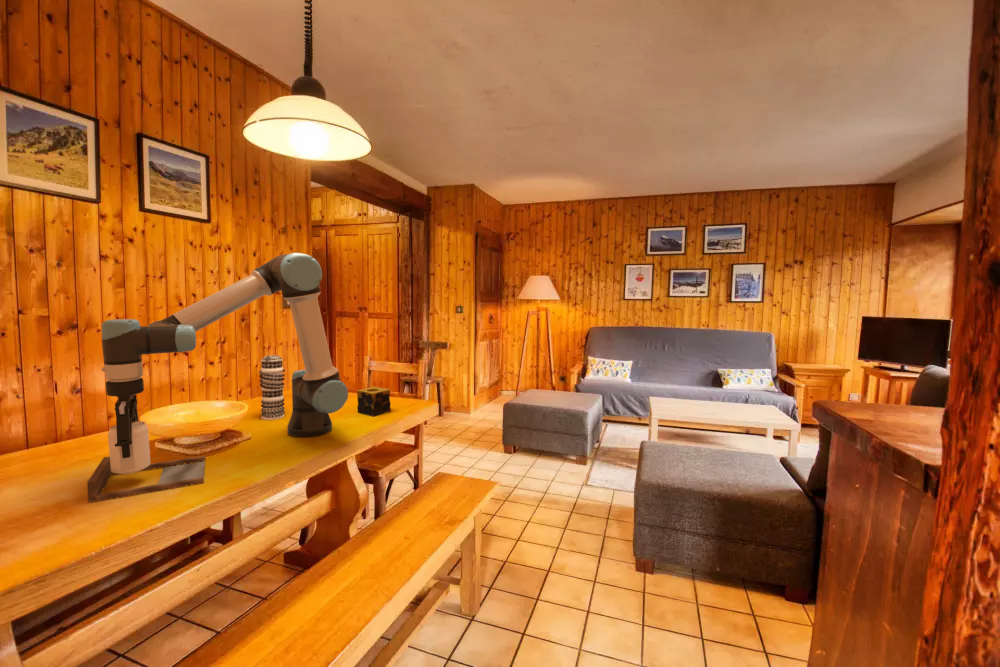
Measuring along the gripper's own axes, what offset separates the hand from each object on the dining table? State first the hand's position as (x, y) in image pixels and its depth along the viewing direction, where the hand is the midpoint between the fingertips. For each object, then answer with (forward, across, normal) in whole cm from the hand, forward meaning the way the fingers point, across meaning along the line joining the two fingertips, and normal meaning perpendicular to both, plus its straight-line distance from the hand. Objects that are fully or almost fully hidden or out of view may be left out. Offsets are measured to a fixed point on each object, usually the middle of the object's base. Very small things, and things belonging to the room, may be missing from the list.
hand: (130, 462), depth 116 cm
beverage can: (+2, 0, 0) cm, 2 cm away
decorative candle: (+6, -49, +38) cm, 62 cm away
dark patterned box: (+7, -38, +76) cm, 85 cm away
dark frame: (+5, 0, +4) cm, 7 cm away
